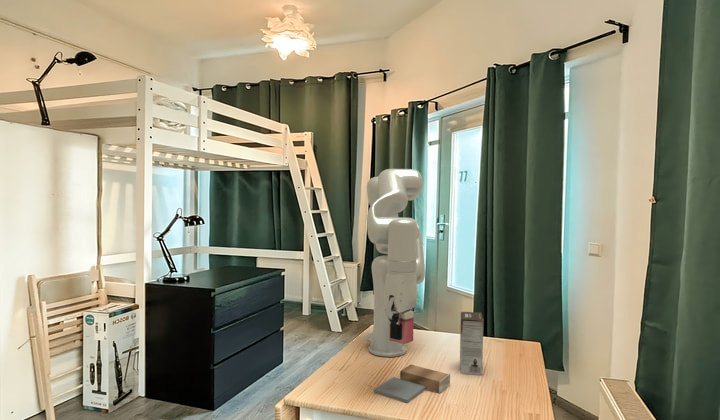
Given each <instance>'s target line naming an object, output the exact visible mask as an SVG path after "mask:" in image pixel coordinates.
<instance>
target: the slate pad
mask: <svg viewBox="0 0 720 420" xmlns="http://www.w3.org/2000/svg"><path fill="white" fill-rule="evenodd" d="M426 390H427V389H426V386H423V385H420V384H417V383H413V382H410V381H406V380H403V379H400V377H395V376H393V377H391V378H390V379H388V380H386V381H385V382H383V383H382V384H380V385H378V386H377V387H375V388H373V393H375V394H378V395H381V396H385V397H387V398H390V399H393V400H397V401H400V402H403V403H406V404H409V402H411V401H412V400H414V399H415V398H417V397H418V396H419V395H420V394H422V393H423V392H424V391H426Z"/></svg>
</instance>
